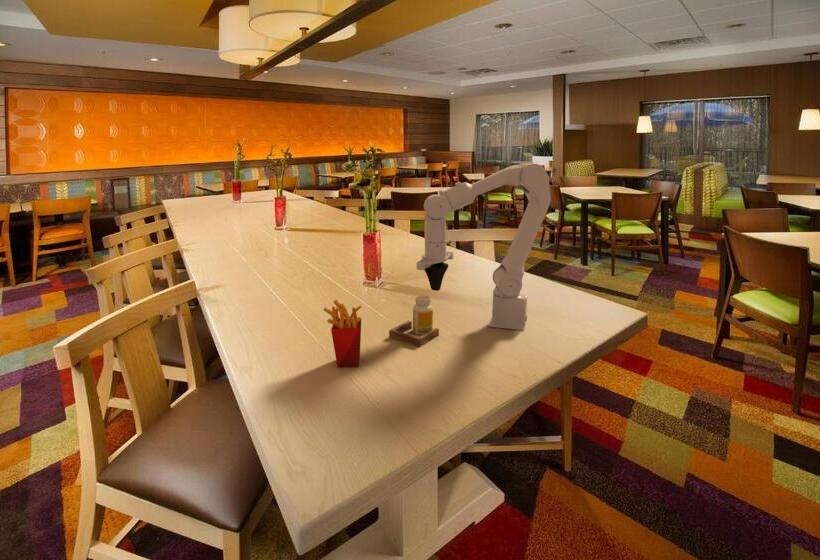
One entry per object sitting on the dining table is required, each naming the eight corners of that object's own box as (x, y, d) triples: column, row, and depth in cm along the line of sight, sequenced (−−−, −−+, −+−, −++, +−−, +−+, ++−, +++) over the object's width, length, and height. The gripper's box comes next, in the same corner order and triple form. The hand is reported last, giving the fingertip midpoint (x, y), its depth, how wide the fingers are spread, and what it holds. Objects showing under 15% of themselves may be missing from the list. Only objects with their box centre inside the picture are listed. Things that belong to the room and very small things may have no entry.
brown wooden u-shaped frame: (408, 327, 133) (408, 320, 132) (438, 335, 127) (438, 328, 126) (389, 337, 126) (389, 330, 126) (419, 346, 121) (419, 339, 120)
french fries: (364, 355, 116) (361, 297, 112) (362, 372, 108) (359, 309, 104) (327, 357, 116) (323, 298, 112) (322, 373, 108) (318, 310, 104)
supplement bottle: (408, 331, 130) (408, 298, 127) (421, 325, 134) (421, 293, 131) (423, 337, 126) (423, 302, 124) (436, 330, 130) (437, 297, 127)
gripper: (438, 234, 135) (438, 280, 139) (406, 244, 124) (407, 294, 128) (459, 237, 131) (459, 285, 135) (429, 247, 120) (429, 298, 124)
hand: (435, 289), depth 131 cm, fingers closed
